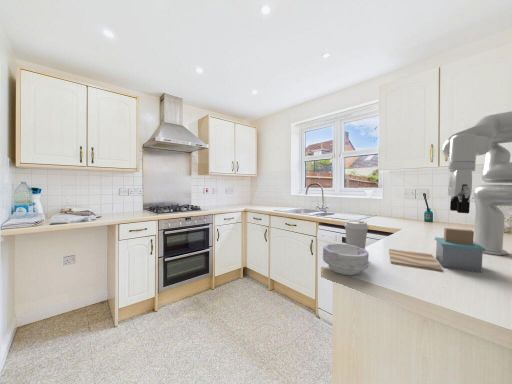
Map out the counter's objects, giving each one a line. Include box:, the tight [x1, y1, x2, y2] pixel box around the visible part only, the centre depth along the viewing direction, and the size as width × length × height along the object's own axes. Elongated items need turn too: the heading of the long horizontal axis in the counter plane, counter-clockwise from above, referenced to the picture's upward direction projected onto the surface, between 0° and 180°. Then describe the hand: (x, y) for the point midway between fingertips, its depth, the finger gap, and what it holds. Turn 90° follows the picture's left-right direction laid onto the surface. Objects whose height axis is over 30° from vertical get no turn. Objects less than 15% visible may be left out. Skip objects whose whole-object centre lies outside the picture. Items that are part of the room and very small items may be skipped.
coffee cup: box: [343, 220, 370, 250], centre depth 96 cm, size 10×10×15 cm
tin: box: [435, 241, 484, 274], centre depth 87 cm, size 11×11×8 cm
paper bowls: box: [322, 242, 369, 276], centre depth 81 cm, size 15×15×8 cm
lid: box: [434, 227, 485, 251], centre depth 87 cm, size 12×12×8 cm
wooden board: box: [388, 248, 443, 272], centre depth 94 cm, size 20×16×1 cm
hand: (458, 211), depth 87 cm, fingers open, 9 cm apart
